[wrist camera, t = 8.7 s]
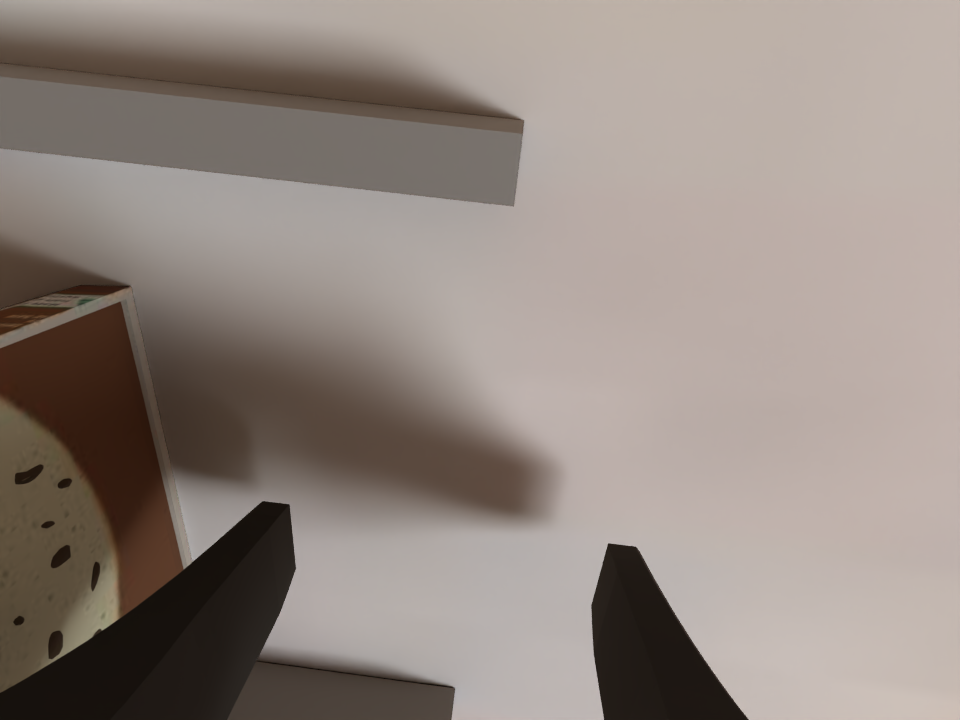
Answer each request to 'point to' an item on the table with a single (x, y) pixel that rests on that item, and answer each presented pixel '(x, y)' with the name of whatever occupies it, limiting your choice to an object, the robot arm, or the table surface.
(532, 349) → the table surface
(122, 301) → the food container
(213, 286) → the table surface
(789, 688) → the table surface
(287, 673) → the dock
